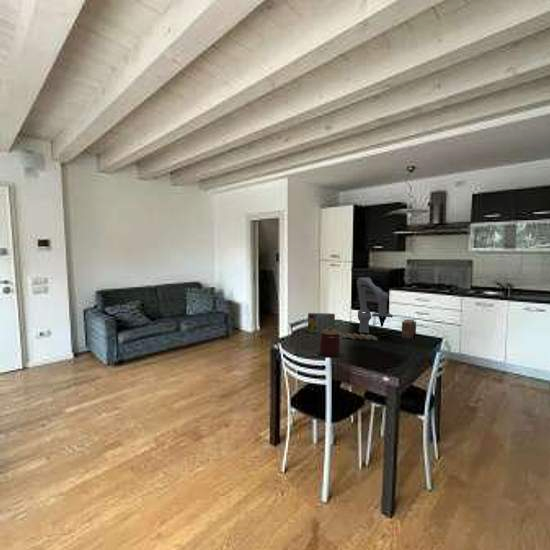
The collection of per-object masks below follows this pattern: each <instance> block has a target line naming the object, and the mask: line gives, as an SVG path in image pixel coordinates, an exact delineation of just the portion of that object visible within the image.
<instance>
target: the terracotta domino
mask: <svg viewBox="0 0 550 550" xmlns="http://www.w3.org/2000/svg"><path fill="white" fill-rule="evenodd" d="M352 335H353V337H355V338H356V339H358V340H361V341H362V340H363V339H364V338H361V337H360V334H358V333H355V332H353V333H352Z"/></svg>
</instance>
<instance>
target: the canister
mask: <svg viewBox="0 0 550 550" xmlns="http://www.w3.org/2000/svg"><path fill="white" fill-rule="evenodd" d="M321 332H322V333H320V334H319V336H320V339H319V353H320V354H321V355H323V356H326V357H337V356H339V355H340V353H341V348H340V347H341V345H340V344H341V339H340V335H339V332H340V331H339V330H338V329H336V328H335V329H332V327H329V328H328V329H324V330H323V331H321Z"/></svg>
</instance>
